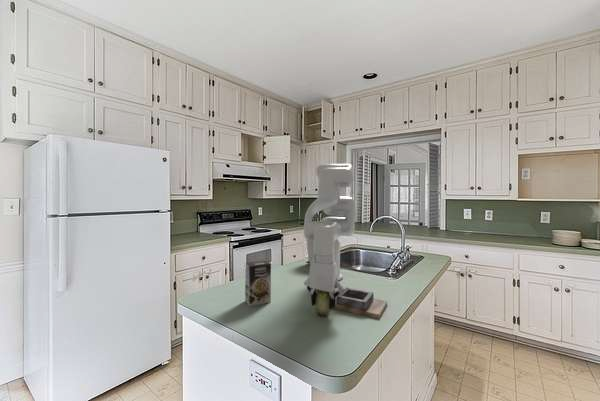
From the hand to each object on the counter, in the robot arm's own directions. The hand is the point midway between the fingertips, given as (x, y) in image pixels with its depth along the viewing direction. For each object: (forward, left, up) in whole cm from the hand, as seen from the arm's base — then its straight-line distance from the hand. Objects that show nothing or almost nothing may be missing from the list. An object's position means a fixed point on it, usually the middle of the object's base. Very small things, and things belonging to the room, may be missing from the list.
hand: (323, 305), depth 106 cm
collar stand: (+8, +14, -3) cm, 16 cm away
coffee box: (-28, -2, -4) cm, 28 cm away
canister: (-29, +62, -4) cm, 68 cm away
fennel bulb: (0, 0, -4) cm, 4 cm away
